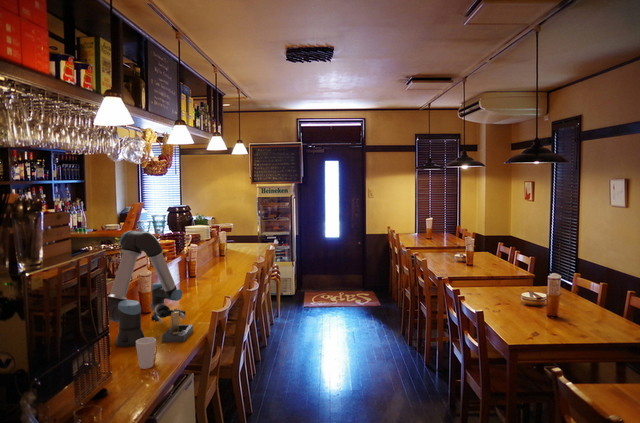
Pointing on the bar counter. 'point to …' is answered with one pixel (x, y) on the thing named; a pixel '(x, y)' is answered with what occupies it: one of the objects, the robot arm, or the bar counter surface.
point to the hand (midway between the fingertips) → (172, 319)
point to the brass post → (175, 322)
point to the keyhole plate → (181, 336)
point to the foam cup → (146, 351)
